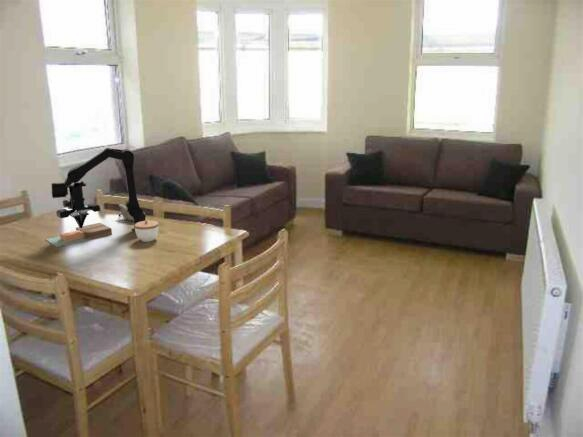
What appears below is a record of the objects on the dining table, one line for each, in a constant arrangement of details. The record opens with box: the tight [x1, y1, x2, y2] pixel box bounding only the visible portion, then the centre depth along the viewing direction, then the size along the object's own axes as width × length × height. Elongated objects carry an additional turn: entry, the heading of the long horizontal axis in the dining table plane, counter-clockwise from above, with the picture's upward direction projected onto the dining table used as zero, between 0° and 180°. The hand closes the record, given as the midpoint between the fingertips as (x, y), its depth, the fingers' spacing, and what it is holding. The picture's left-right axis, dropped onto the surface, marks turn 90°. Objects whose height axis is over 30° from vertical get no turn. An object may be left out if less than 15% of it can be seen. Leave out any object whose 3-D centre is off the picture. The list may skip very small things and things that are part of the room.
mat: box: [45, 235, 88, 248], centre depth 252 cm, size 14×14×1 cm
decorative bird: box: [118, 203, 133, 221], centre depth 283 cm, size 5×16×8 cm, turn 48°
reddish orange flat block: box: [59, 230, 85, 242], centre depth 253 cm, size 6×9×2 cm, turn 132°
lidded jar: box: [133, 219, 160, 243], centre depth 250 cm, size 11×11×9 cm
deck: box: [75, 222, 113, 241], centre depth 260 cm, size 13×12×3 cm
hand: (80, 228), depth 256 cm, fingers closed
